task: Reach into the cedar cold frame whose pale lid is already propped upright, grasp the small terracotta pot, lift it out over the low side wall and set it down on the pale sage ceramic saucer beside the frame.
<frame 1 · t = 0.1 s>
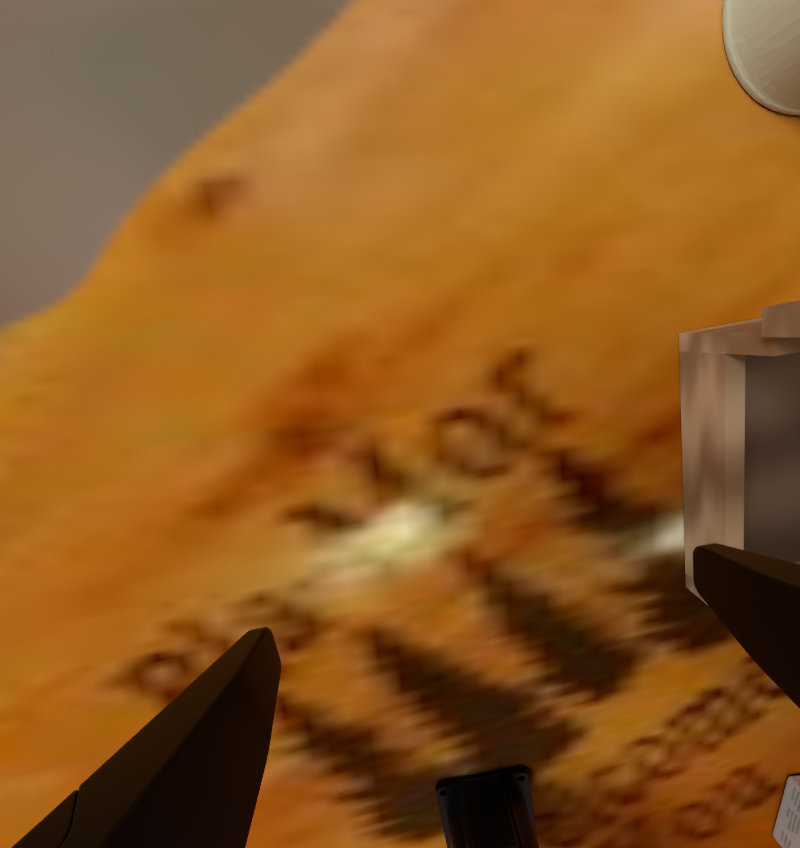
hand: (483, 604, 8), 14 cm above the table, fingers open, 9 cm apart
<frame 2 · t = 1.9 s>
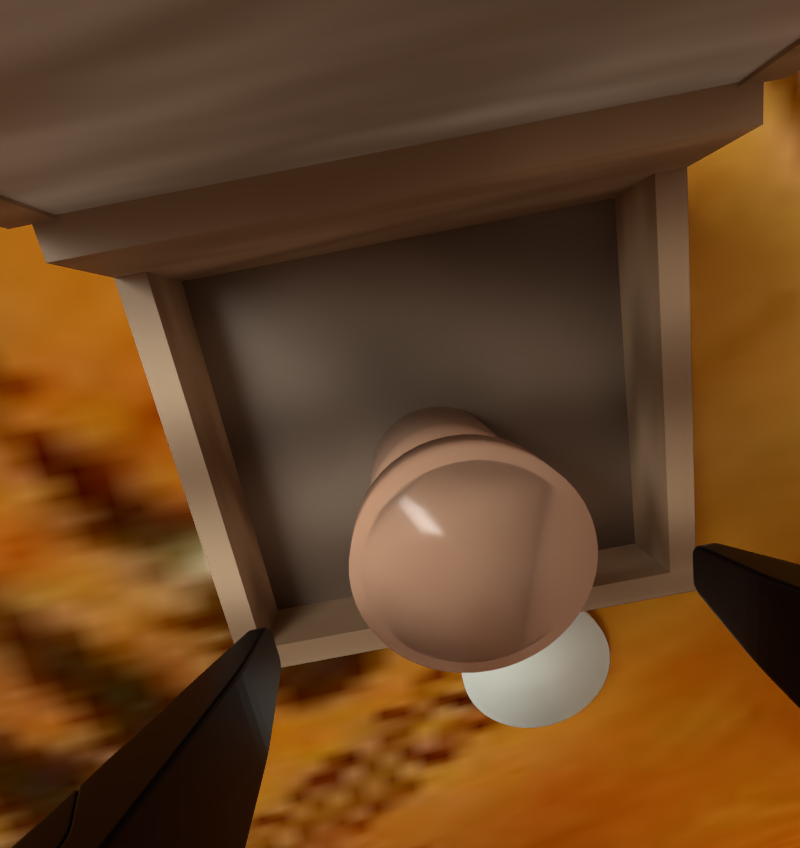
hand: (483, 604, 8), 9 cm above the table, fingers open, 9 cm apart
terracotta pot: (437, 470, 16), point 1 cm above the table, touching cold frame
saucer: (530, 654, 19), on the table
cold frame: (427, 420, 17), on the table
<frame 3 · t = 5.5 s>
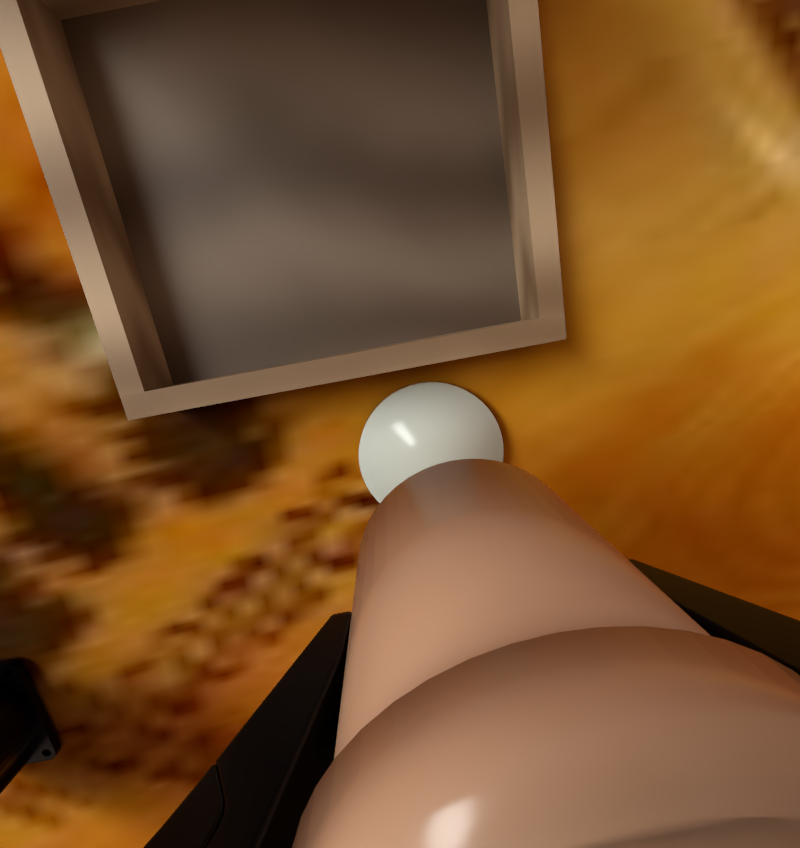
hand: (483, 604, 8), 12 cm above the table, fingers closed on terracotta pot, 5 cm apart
terracotta pot: (468, 563, 10), point 10 cm above the table, touching gripper
saucer: (429, 450, 20), on the table
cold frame: (314, 190, 17), on the table
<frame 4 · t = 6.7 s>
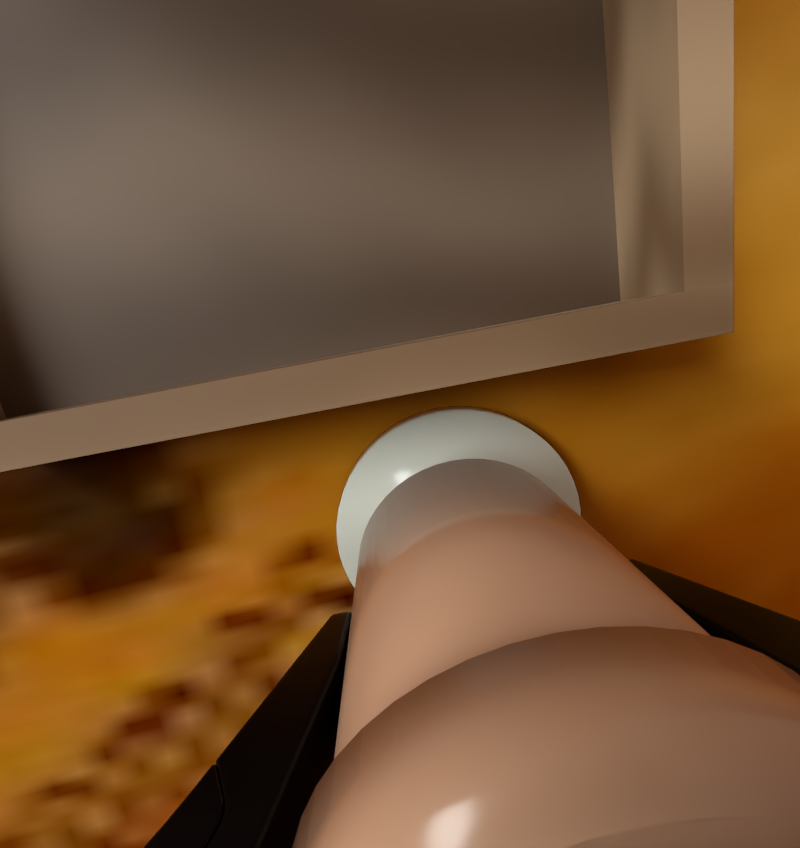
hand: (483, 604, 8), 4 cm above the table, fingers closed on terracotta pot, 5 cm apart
terracotta pot: (468, 563, 10), point 2 cm above the table, touching gripper
saucer: (454, 519, 12), on the table
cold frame: (249, 64, 9), on the table
when the fingers open (4 cm above the table, at t = 7.5 s): terracotta pot drops 1 cm, resting on saucer.
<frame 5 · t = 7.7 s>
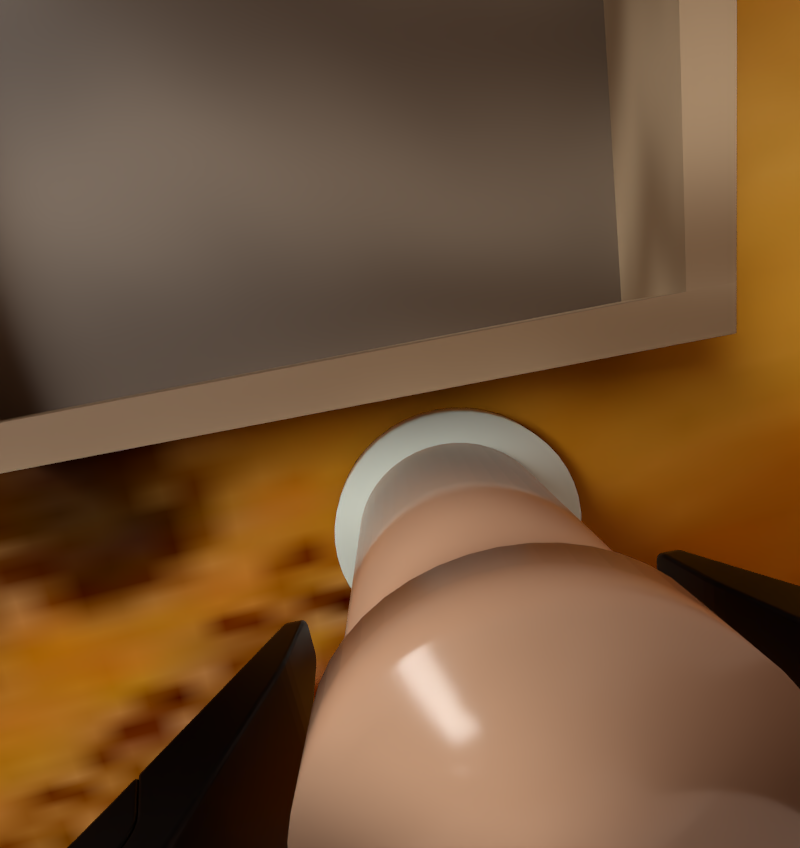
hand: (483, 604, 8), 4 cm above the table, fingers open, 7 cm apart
terracotta pot: (455, 535, 11), point 1 cm above the table, touching saucer
saucer: (454, 521, 12), on the table
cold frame: (246, 62, 9), on the table
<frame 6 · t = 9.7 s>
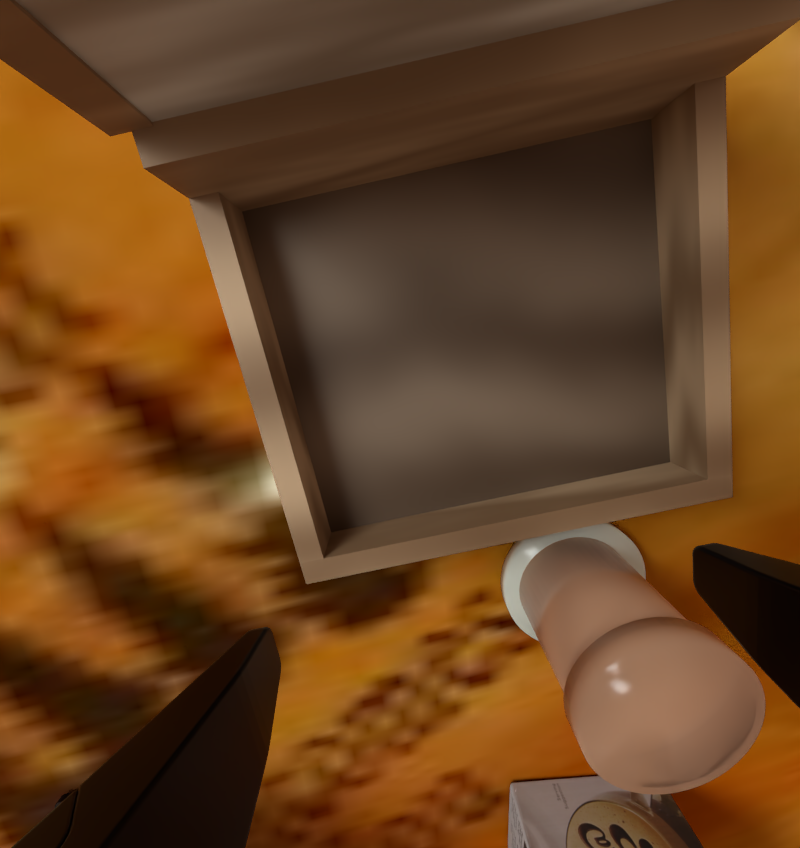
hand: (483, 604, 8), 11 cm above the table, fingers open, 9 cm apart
coffee box: (580, 809, 24), on the table
terracotta pot: (573, 586, 20), point 1 cm above the table, touching saucer
saucer: (568, 576, 20), on the table
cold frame: (470, 346, 18), on the table
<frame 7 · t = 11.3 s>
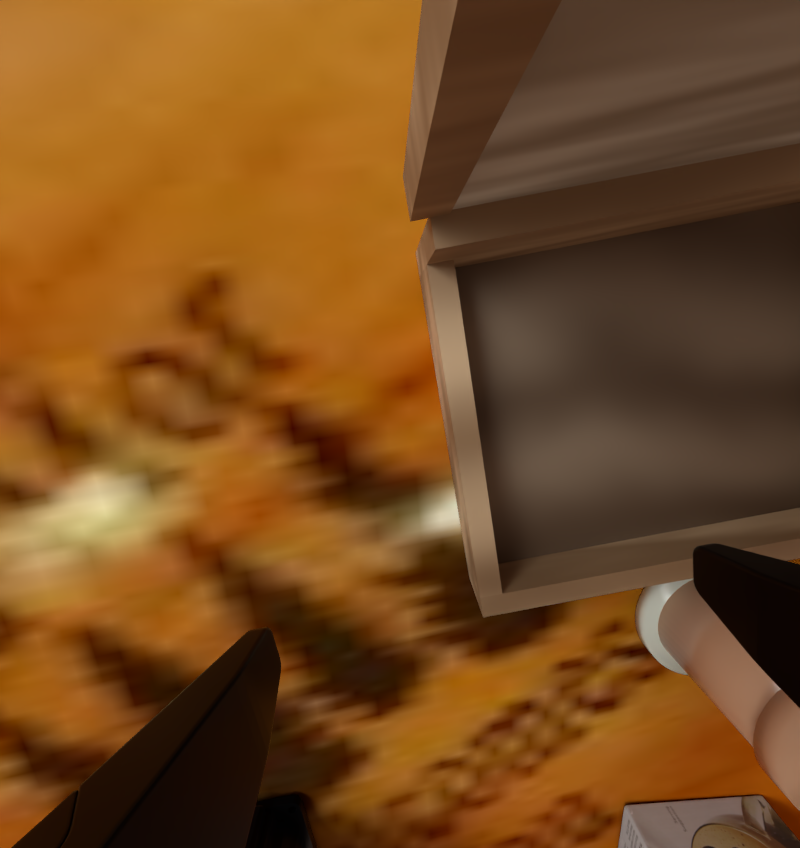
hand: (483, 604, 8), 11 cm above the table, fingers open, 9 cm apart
coffee box: (685, 831, 25), on the table
terracotta pot: (708, 619, 21), point 1 cm above the table, touching saucer
saucer: (698, 609, 21), on the table
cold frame: (631, 394, 19), on the table
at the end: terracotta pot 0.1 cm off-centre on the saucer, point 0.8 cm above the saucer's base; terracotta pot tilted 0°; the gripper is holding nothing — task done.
